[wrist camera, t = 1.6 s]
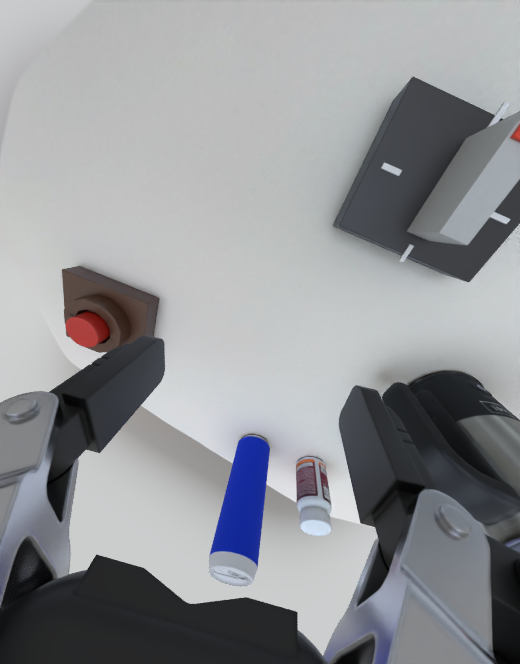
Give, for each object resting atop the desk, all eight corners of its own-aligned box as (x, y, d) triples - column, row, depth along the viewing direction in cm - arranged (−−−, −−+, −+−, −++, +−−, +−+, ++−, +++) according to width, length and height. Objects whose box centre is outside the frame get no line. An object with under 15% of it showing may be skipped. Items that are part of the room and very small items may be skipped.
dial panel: (329, 232, 21) (335, 233, 18) (398, 89, 16) (421, 60, 13) (442, 281, 21) (465, 289, 18) (541, 156, 16) (592, 142, 14)
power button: (80, 333, 25) (66, 340, 24) (79, 306, 24) (64, 311, 22) (109, 344, 26) (97, 352, 24) (110, 318, 24) (98, 325, 22)
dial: (428, 241, 17) (470, 246, 13) (406, 231, 17) (441, 233, 13) (492, 150, 14) (569, 121, 10) (465, 137, 14) (533, 103, 10)
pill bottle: (292, 469, 37) (292, 531, 29) (301, 452, 35) (303, 514, 27) (319, 477, 37) (326, 541, 29) (330, 460, 35) (340, 525, 27)
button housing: (81, 328, 30) (52, 342, 26) (79, 265, 26) (44, 272, 22) (150, 355, 30) (131, 373, 27) (159, 298, 26) (138, 309, 22)
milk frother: (501, 377, 25) (743, 554, 11) (436, 463, 32) (537, 632, 19) (372, 357, 26) (456, 497, 12) (337, 444, 33) (367, 591, 20)
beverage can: (235, 448, 36) (202, 577, 23) (242, 428, 34) (209, 559, 21) (265, 457, 36) (249, 592, 23) (273, 438, 34) (261, 575, 21)
